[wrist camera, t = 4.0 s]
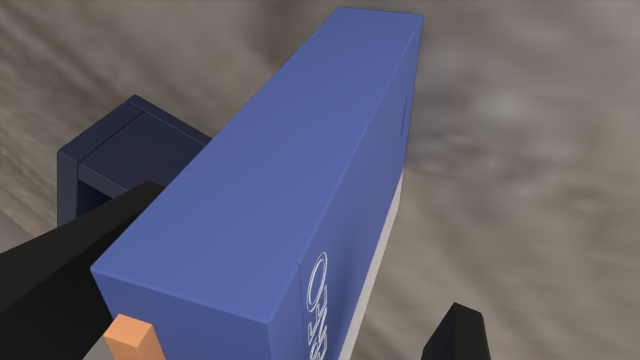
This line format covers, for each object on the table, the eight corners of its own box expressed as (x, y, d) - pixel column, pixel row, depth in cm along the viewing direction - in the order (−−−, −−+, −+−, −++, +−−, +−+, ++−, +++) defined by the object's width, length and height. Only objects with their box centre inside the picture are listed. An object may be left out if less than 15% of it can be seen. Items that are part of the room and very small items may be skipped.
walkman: (337, 5, 15) (65, 287, 6) (424, 14, 14) (258, 349, 5) (334, 192, 20) (181, 501, 11) (399, 206, 19) (290, 549, 10)
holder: (113, 242, 28) (56, 301, 25) (134, 93, 20) (55, 150, 17) (210, 297, 28) (167, 364, 25) (270, 171, 20) (218, 243, 17)
